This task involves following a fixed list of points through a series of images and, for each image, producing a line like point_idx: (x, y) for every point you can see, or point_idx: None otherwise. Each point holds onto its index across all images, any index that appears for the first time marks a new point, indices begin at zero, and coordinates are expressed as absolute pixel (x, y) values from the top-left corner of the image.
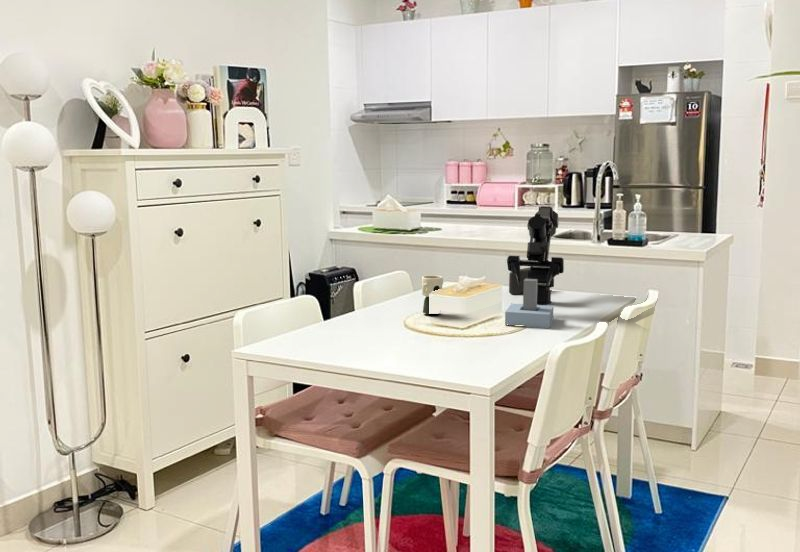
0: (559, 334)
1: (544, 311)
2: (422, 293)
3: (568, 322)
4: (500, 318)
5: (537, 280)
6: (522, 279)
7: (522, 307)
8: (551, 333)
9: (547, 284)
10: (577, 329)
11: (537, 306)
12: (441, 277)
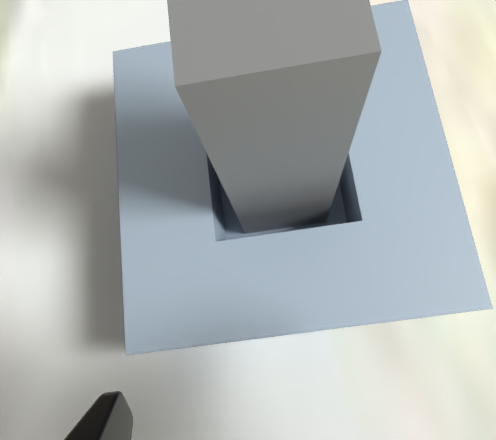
0: (81, 11)
1: (158, 119)
2: None
3: (59, 289)
4: (489, 228)
5: (178, 83)
6: None
7: (355, 224)
8: (119, 13)
9: (106, 395)
10: (3, 140)
11: (243, 269)
12: None
